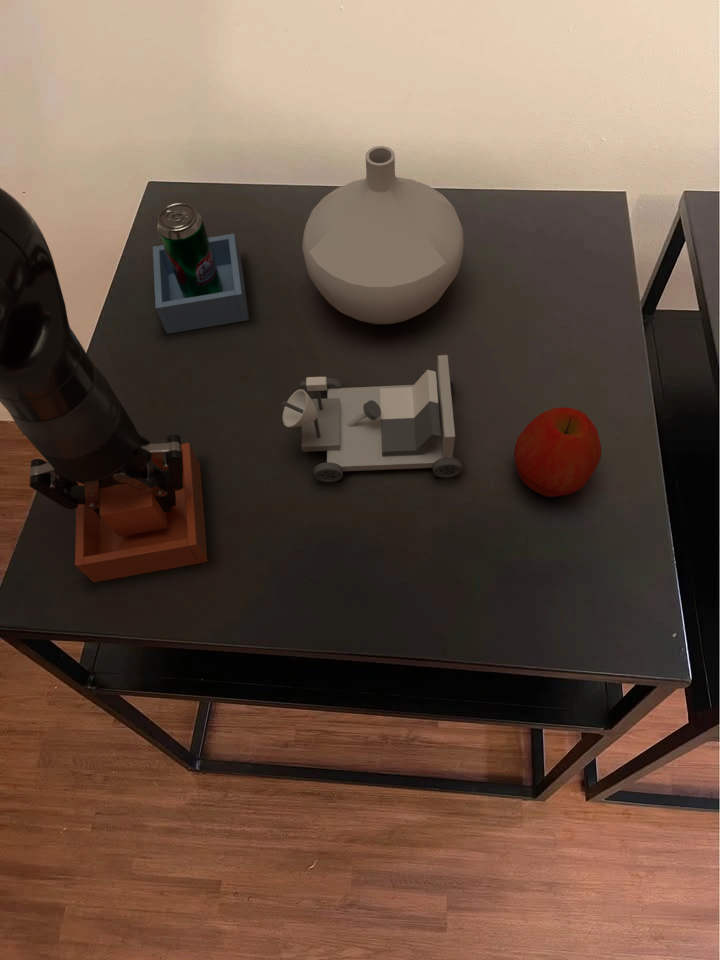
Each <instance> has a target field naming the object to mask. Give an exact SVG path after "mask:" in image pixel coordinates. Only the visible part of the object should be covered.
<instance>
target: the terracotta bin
mask: <svg viewBox="0 0 720 960" xmlns="http://www.w3.org/2000/svg"><path fill="white" fill-rule="evenodd" d="M193 449H194V448H193V447H192V445H191V443H189V442H186V443H181V454H182V471H183V489H181V490H175V496H176V505H175V506H173V507H172V511H171V512H167V528H164V529H158V530H153V531H147V532H142V533H136V534H131V535H125V536H120V537H118V536H117V535H116V534H115V533H114V531H113V530H112V529H111V528H110V527H109V526H108V524H107V523H106V522H105V521H104V520H103V519H102V518H100V517H99V516H98V515H97V514H96V512H95V511H94V510H93V509H89V508H87V507H86V505H83V504H82V505H78V507H77V508H76V510H75V552H74V557H75V559H74V566H75V567H76V569H78V570H79V571H80V572H81V573H82V574H83V575H84V576H86V578H87V579H89V580H90V581H91V582H92V583H98V582H104V581H110V580H115V579H121V578H127V577H133V576H138V575H143V574H149V573H155V572H159V571H165V570H171V569H177V568H182V567H188V566H194V565H199V564H204V563H208V550H207V548H208V547H207V535H206V523H205V511H204V510H205V509H204V496H203V483H202V482H203V481H202V471H201V463H200V462H199V459H198V458H197V455H196V453H195V451H194V450H193ZM152 460H153V463H154V464H156V465H157V466H159V467H160V468H162V469H163V470H167V469H169V467H168V468H164V467H163V463H161V462H159V460H158V459H157V458H152ZM77 483H78V486H84V484H82V483H79V482H77Z"/></svg>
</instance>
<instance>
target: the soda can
mask: <svg viewBox="0 0 720 960" xmlns="http://www.w3.org/2000/svg"><path fill="white" fill-rule="evenodd" d="M156 229H157V232H158V233H157V234H158V235H159V237H160V240H161V243H162V245H163V246H164V248H165V251H166V254H167V256H168V259H169V261H170V264H171V267H172V269H173V272H174V274H175V277H176V280H177V282H178V285H179V288H180V290H181V293H182V295H183V298H190V297H196V296H202V295H208V294H214V293H220V292H222V291H223V285H222V282H221V278H220V275H219V272H218V269H217V265H216V262H215V259H214V256H213V252H212V249H211V246H210V243H209V239H208V238H209V236H208V233H207V230H206V226H205V222H204V220H203V217H202V215H201V214H200V213H199V212H198V211H197V210H196V209H195V207H194V206H192V205H191V204H189V203H185V202H176V203H172V204H169V205H167V206H165V207H164V208H163V209H162V210H161V211H160V212H159V214H158V216H157V225H156Z"/></svg>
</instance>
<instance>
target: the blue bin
mask: <svg viewBox="0 0 720 960" xmlns="http://www.w3.org/2000/svg"><path fill="white" fill-rule="evenodd" d="M208 239H209V243H210V246H211V249H212V252H213V256H214V259H215V262H216V265H217V269H218V272H219V275H220V278H221V282H222V285H223V291H222V292H220V293H214V294H208V295H202V296H196V297H190V298H183V295H182V293H181V290H180V288H179V285H178V282H177V280H176V277H175V274H174V272H173V269H172V267H171V264H170V261H169V259H168V256H167V254H166V251H165V248H164V246H163V244H161V245H155V246H152V263H153V282H154V303H155V304H154V305H155V306H154V307H155V310H156V312H157V315H158V317H159V320H160V322H161V324H162V326H163V329H164V331H165V333H166V334H167V335H169V334H174V333H181V332H187V331H193V330H199V329H204V328H210V327H216V326H222V325H228V324H234V323H239V322H246V321H249V320H250V316H249V310H248V302H247V293H246V292H247V291H246V286H245V284H246V283H245V278H244V277H245V276H244V270H243V264H242V263H243V262H242V261H243V260H242V257H241V253H240V250H239V246H238V243H237V239H236V235H235V233H228V234H223V235H216V236H212V237H211V236H210V237H209V236H208Z"/></svg>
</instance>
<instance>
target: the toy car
mask: <svg viewBox="0 0 720 960" xmlns="http://www.w3.org/2000/svg"><path fill="white" fill-rule="evenodd" d="M436 363H437V364H436V371H434V370H431V369H426V371H425V372H423V374H422V375H421V376H420V377H419V379H418V380H417V381H416V382H415V383H414V384H403V385H382V386H360V387H359V386H358V387H343V383H342V382H341V381H340V380H338V379H337V378H334V377H327V376H308V377H307V376H306V378H305V381H300V389H297V390H295V391H294V392H293V393H292V394H291V395H290V396H289V398H288V399H287V401H285V400H283V401H282V402H281V405H282V406H284V407H283V410H282V411H283V413H282V422H283V425H284V426H285V427H287V428H297V427H298V428H299V427H301V450H302V453H303V452H306V453H307V452H308V453H309V452H326V462H321V463H318V464H317V465H316V466H315V467H314V469H313V477H314V478H315V480H317V481H319V482H322V483H335V482H338V481H340V480H341V479H342V478H343V476H344V472H356V471H358V472H360V471H383V470H405V469H407V470H408V469H409V470H410V469H432V473H433V475H434V476H436V477H437V478H443V479H449V478H454V477H456V476H459V475H460V474H461V473H462V471H463V466H462V462H461V461H460V460H459V459H458V458H455V457H454V450H455V441H456V440H455V439H456V432H455V422H454V411H453V409H454V408H453V400H452V390H453V388H454V386H455V382H454V378H453V376H452V375H451V374H450V369H449V356H448V354H441V355H437V362H436ZM302 388H306V391H307V392H315V394H316V398H311V397H310V395H309V394H308V393H307V392H306V391H305V389H302Z"/></svg>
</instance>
